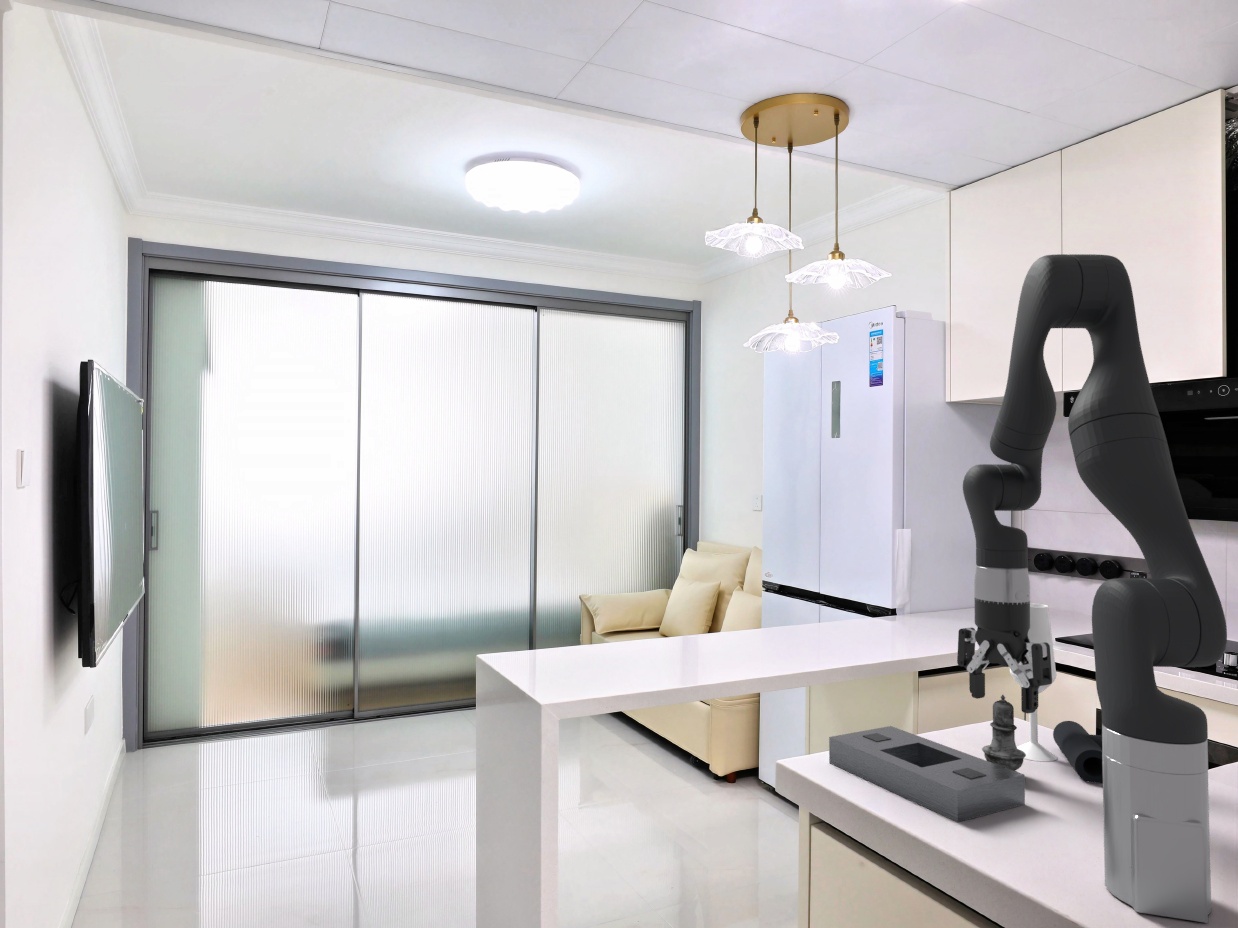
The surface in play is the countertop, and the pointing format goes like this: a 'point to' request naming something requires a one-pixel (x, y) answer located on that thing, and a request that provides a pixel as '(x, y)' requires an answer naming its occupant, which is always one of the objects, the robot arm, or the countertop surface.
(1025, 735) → the countertop surface
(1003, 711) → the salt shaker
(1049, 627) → the champagne flute
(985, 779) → the gray slotted block
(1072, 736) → the pipe connector
